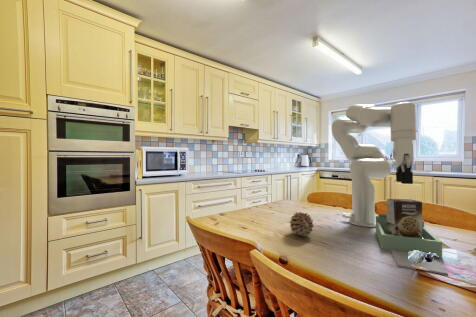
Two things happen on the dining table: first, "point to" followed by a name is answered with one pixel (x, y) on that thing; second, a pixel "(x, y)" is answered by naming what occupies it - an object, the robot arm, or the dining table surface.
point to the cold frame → (406, 239)
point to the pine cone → (301, 224)
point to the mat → (403, 262)
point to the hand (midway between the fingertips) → (404, 182)
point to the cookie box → (404, 218)
